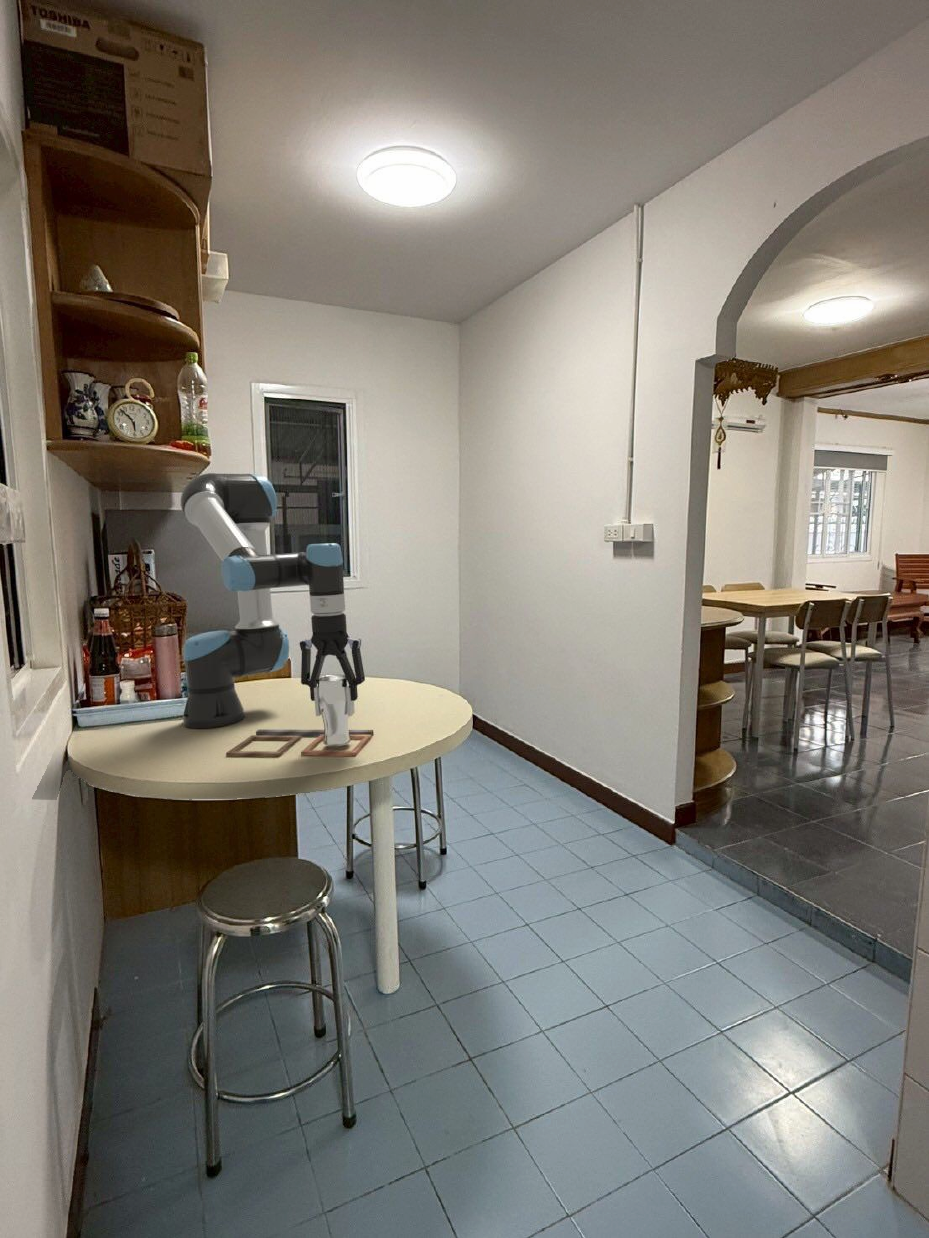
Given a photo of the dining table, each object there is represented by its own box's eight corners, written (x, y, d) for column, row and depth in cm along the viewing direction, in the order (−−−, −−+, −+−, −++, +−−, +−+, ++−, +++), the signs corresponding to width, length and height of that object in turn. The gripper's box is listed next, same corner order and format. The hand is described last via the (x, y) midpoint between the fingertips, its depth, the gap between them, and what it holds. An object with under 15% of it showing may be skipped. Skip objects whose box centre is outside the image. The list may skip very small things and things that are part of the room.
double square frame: (226, 756, 145) (225, 751, 145) (258, 734, 161) (257, 729, 161) (354, 757, 141) (353, 752, 141) (374, 734, 157) (374, 729, 156)
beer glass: (337, 735, 154) (333, 673, 152) (359, 740, 150) (354, 675, 148) (314, 744, 148) (310, 679, 146) (336, 749, 144) (331, 682, 142)
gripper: (279, 616, 143) (287, 719, 146) (366, 614, 140) (372, 719, 143) (292, 612, 150) (300, 709, 153) (376, 610, 147) (382, 709, 150)
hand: (335, 714), depth 148 cm, fingers closed on beer glass, 7 cm apart
